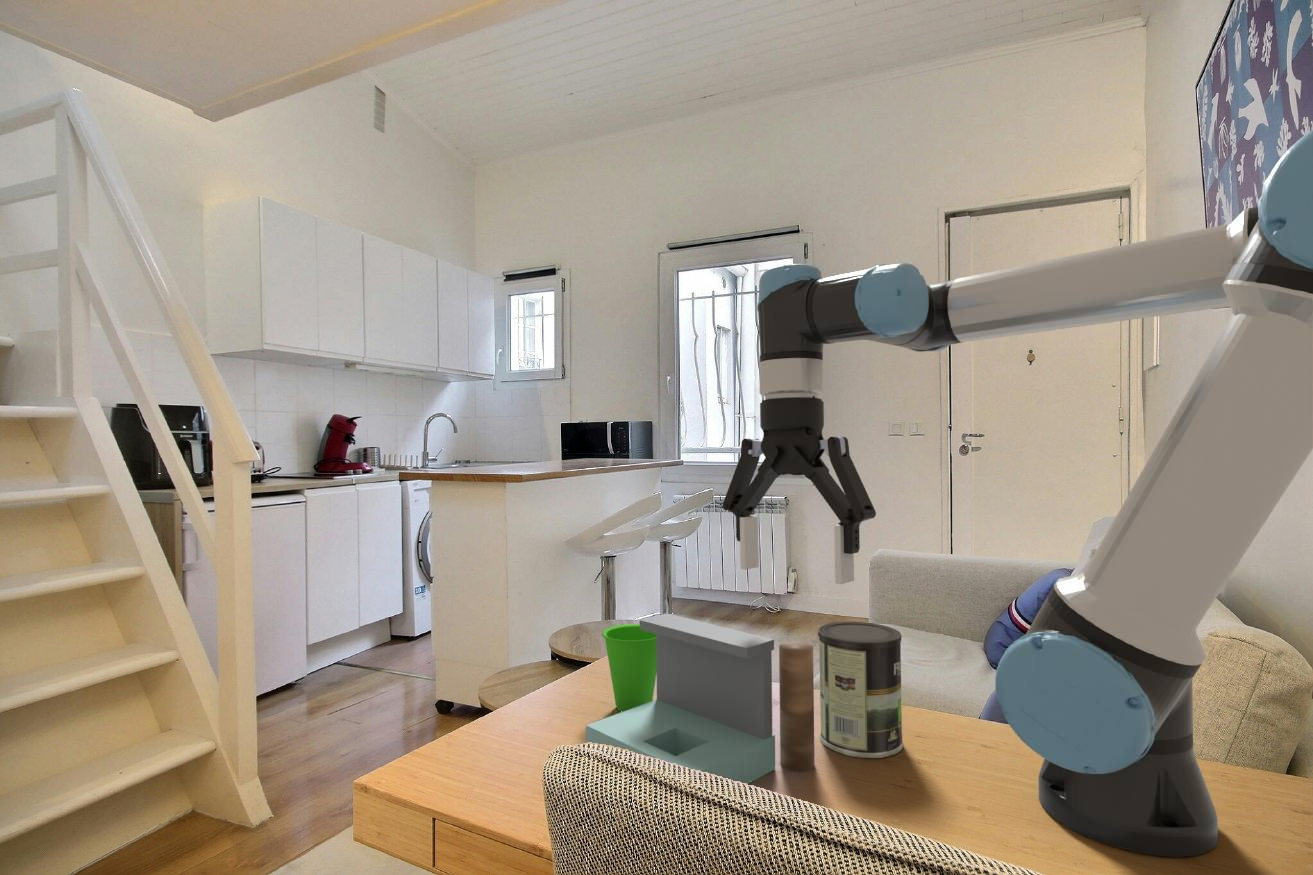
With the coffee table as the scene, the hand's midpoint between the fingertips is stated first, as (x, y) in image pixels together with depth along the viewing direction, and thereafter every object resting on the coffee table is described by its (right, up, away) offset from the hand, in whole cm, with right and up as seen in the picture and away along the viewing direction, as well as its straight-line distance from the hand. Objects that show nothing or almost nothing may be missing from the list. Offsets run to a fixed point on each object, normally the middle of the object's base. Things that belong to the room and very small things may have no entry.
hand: (794, 575), depth 83 cm
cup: (-20, -23, +18) cm, 35 cm away
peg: (0, -23, 0) cm, 22 cm away
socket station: (-14, -23, 0) cm, 26 cm away
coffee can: (+10, -23, +6) cm, 25 cm away
